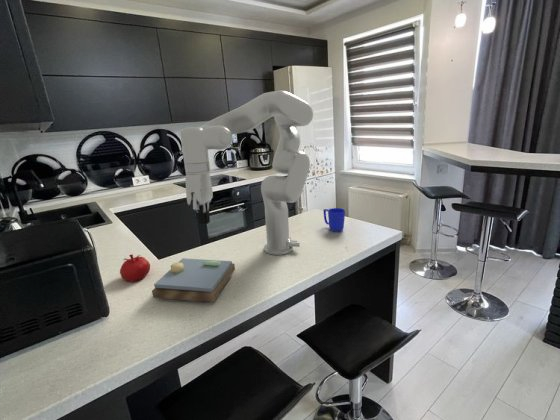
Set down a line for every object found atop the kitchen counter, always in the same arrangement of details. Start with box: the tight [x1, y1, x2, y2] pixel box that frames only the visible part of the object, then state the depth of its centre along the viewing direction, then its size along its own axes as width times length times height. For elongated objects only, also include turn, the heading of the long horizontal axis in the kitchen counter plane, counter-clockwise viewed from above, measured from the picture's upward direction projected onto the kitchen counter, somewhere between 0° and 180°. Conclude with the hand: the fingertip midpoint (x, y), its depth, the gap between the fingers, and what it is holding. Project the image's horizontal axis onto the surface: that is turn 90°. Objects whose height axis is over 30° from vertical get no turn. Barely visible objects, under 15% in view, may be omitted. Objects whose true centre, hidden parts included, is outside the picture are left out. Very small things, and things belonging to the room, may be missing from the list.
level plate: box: [153, 257, 233, 292], centre depth 97 cm, size 19×18×3 cm
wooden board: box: [151, 262, 236, 303], centre depth 98 cm, size 20×20×4 cm
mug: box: [323, 207, 346, 232], centre depth 144 cm, size 8×12×10 cm
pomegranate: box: [119, 253, 151, 283], centre depth 106 cm, size 10×10×9 cm
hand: (204, 222), depth 97 cm, fingers closed
